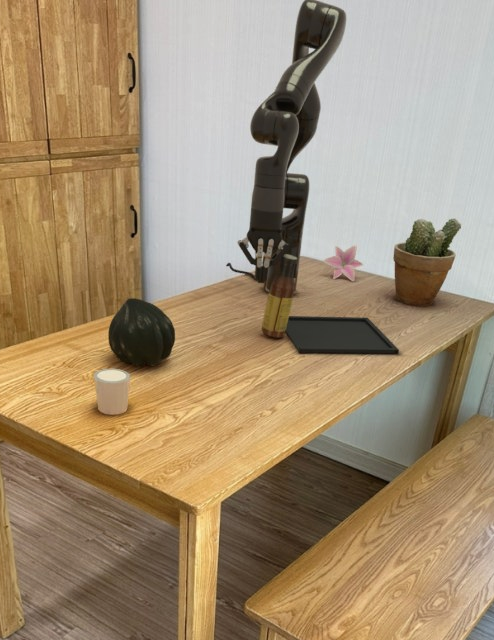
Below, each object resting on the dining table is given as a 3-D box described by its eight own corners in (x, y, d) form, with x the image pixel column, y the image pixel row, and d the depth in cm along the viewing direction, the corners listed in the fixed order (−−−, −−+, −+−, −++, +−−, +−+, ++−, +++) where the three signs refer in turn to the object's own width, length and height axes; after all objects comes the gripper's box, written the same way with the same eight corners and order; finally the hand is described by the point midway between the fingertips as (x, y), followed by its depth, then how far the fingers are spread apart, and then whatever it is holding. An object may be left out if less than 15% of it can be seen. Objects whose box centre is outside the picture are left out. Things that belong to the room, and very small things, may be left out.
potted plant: (408, 312, 207) (427, 224, 194) (372, 292, 220) (387, 209, 207) (455, 308, 215) (476, 223, 201) (418, 289, 228) (435, 209, 215)
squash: (196, 335, 159) (156, 279, 155) (168, 359, 147) (124, 299, 143) (154, 364, 167) (115, 311, 163) (124, 389, 155) (81, 332, 151)
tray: (299, 353, 171) (300, 348, 170) (277, 319, 190) (278, 315, 190) (398, 354, 177) (399, 349, 176) (367, 321, 196) (367, 317, 195)
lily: (316, 277, 234) (323, 255, 225) (333, 257, 239) (340, 236, 231) (346, 295, 232) (354, 274, 224) (362, 275, 238) (371, 254, 229)
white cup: (96, 399, 139) (95, 367, 135) (131, 401, 140) (131, 368, 136) (92, 415, 134) (91, 381, 130) (129, 416, 134) (128, 383, 131)
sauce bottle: (284, 333, 182) (304, 257, 172) (283, 341, 177) (304, 263, 167) (259, 326, 182) (279, 250, 171) (258, 334, 176) (278, 256, 166)
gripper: (291, 205, 166) (283, 279, 175) (236, 202, 163) (231, 276, 173) (298, 212, 160) (290, 287, 169) (242, 208, 157) (236, 285, 166)
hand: (260, 282), depth 171 cm, fingers closed
